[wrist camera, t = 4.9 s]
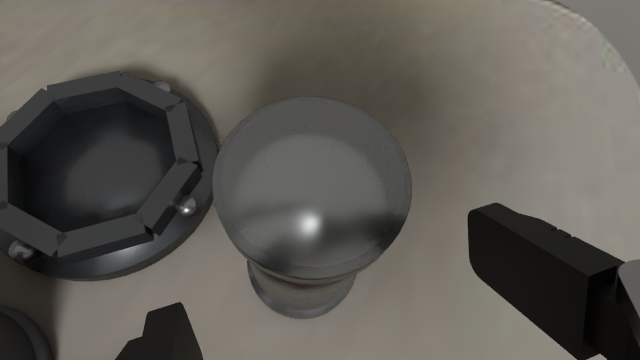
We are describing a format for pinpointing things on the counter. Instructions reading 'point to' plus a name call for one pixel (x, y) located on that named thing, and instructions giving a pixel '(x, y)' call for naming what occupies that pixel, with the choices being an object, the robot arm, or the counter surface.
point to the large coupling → (21, 337)
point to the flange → (103, 176)
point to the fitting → (310, 199)
